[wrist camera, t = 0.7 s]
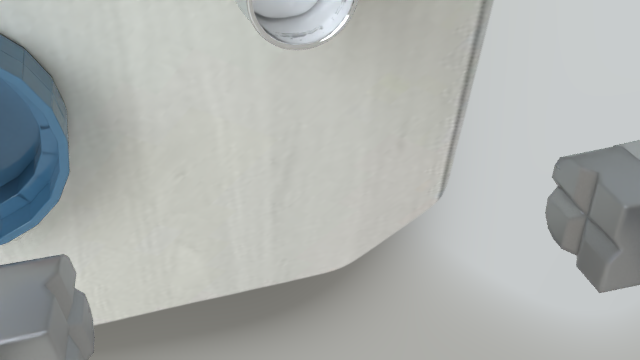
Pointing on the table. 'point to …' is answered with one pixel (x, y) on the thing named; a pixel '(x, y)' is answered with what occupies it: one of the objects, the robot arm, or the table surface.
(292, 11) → the beer glass
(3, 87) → the blue bowl
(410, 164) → the table surface
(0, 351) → the robot arm
